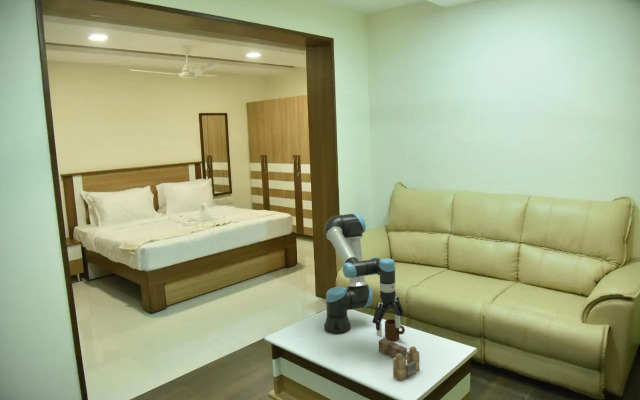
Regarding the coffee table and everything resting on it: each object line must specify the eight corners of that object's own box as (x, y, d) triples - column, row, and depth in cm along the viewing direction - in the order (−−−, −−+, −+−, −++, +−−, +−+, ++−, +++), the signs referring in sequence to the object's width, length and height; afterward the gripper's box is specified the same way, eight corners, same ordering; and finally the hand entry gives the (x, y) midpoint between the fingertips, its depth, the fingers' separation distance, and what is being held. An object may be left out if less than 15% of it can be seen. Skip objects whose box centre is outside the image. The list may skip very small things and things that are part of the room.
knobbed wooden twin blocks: (393, 377, 199) (392, 353, 198) (412, 366, 208) (412, 343, 206) (402, 381, 195) (401, 357, 194) (421, 371, 204) (421, 347, 202)
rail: (378, 351, 223) (378, 340, 223) (384, 349, 226) (383, 338, 225) (401, 362, 212) (401, 350, 211) (406, 359, 215) (406, 348, 214)
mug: (409, 340, 234) (408, 323, 233) (400, 345, 229) (400, 328, 228) (390, 333, 243) (390, 317, 242) (382, 338, 238) (381, 321, 237)
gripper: (375, 298, 206) (376, 342, 208) (410, 286, 221) (411, 326, 224) (364, 294, 211) (365, 337, 214) (398, 283, 227) (399, 322, 230)
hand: (388, 331), depth 219 cm, fingers open, 13 cm apart
